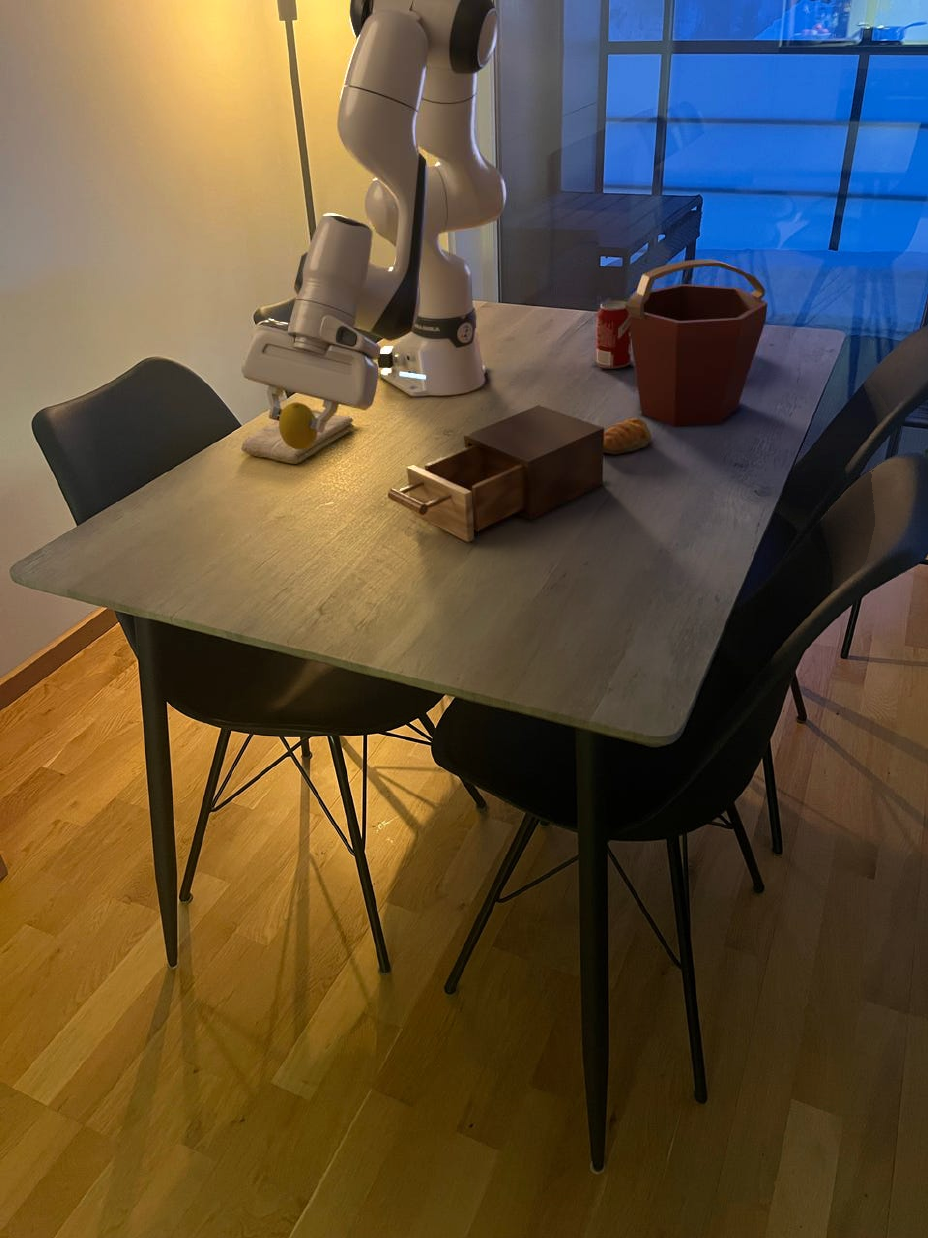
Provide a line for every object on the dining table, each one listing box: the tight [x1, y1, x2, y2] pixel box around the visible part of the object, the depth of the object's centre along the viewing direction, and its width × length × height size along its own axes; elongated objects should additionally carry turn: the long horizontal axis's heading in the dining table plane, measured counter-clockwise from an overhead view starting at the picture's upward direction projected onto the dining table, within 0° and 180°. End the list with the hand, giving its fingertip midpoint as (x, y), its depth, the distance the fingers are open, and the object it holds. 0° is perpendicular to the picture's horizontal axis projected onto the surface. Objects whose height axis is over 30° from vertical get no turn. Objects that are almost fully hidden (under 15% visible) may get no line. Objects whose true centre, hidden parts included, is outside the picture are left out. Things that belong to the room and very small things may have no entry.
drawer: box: [387, 445, 526, 543], centre depth 135 cm, size 20×13×7 cm, turn 131°
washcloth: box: [241, 409, 355, 465], centre depth 165 cm, size 12×18×3 cm, turn 150°
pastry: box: [603, 417, 653, 455], centre depth 155 cm, size 9×7×4 cm
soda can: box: [595, 300, 632, 370], centre depth 185 cm, size 7×7×12 cm
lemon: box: [279, 402, 318, 449], centre depth 137 cm, size 6×6×8 cm
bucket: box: [625, 259, 769, 427], centre depth 162 cm, size 24×22×25 cm
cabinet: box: [463, 404, 605, 521], centre depth 143 cm, size 16×14×9 cm
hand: (296, 425), depth 136 cm, fingers closed on lemon, 5 cm apart
